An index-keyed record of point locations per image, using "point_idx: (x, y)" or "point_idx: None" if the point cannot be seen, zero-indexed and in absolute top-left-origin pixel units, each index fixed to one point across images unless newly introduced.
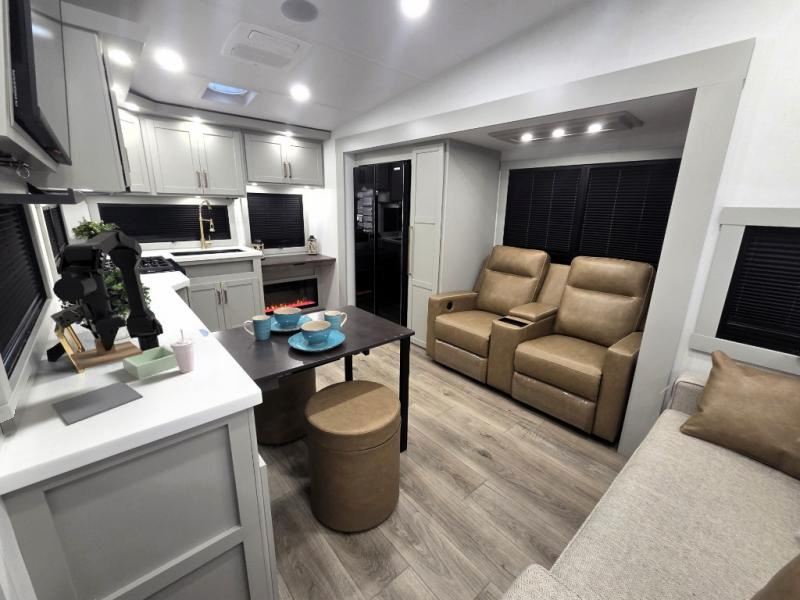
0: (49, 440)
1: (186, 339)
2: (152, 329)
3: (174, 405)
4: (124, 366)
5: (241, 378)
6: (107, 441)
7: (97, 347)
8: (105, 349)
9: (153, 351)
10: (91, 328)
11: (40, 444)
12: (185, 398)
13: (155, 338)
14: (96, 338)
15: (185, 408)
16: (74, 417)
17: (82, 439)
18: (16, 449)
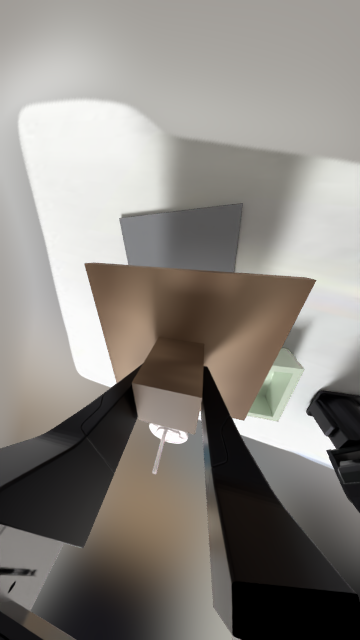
0: (87, 182)
1: (178, 440)
2: (339, 473)
3: (93, 329)
4: (285, 353)
5: (112, 386)
6: (47, 250)
7: (156, 360)
8: (142, 364)
9: (275, 403)
10: (216, 520)
11: (81, 166)
12: (102, 342)
13: (331, 439)
14: (203, 407)
15: (80, 331)
16: (135, 230)
17: (65, 227)
18: (85, 120)
